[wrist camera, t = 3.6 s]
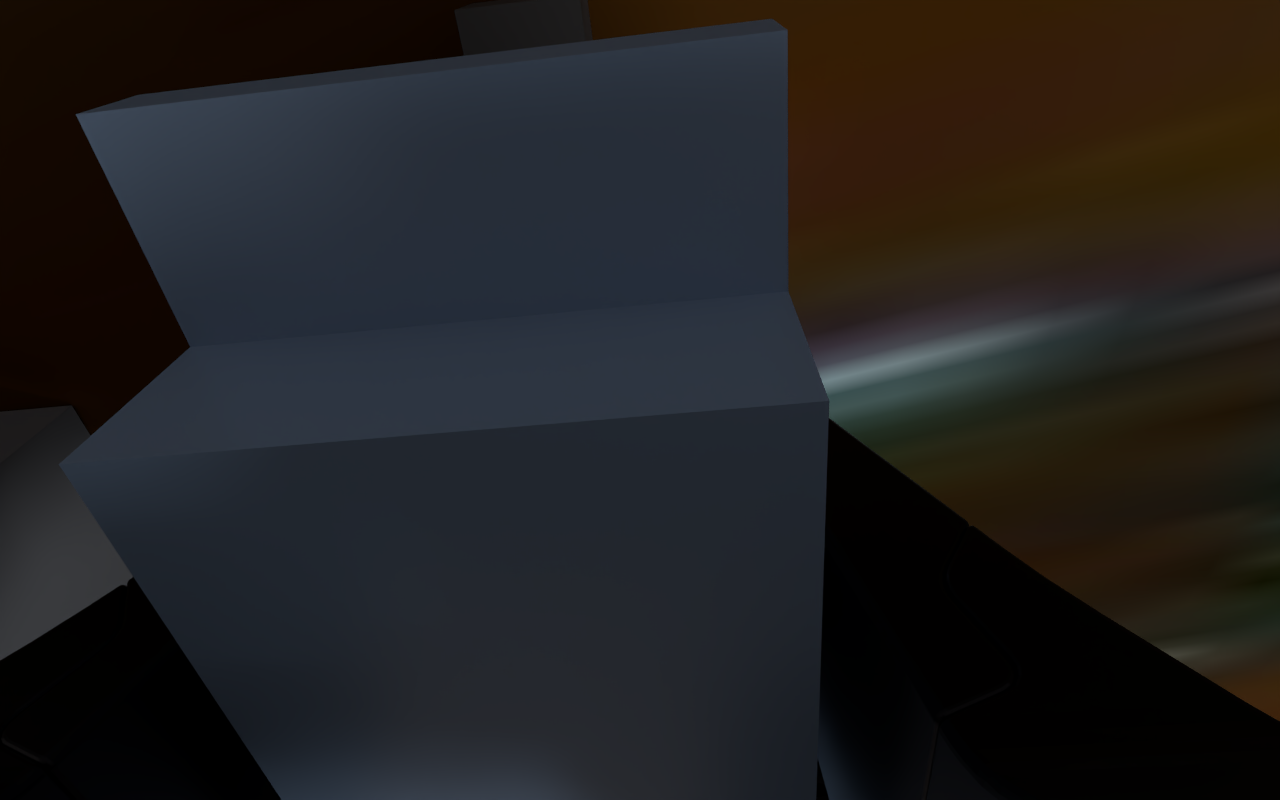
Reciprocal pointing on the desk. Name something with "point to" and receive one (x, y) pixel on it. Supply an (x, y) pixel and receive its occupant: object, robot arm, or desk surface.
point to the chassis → (46, 529)
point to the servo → (482, 416)
